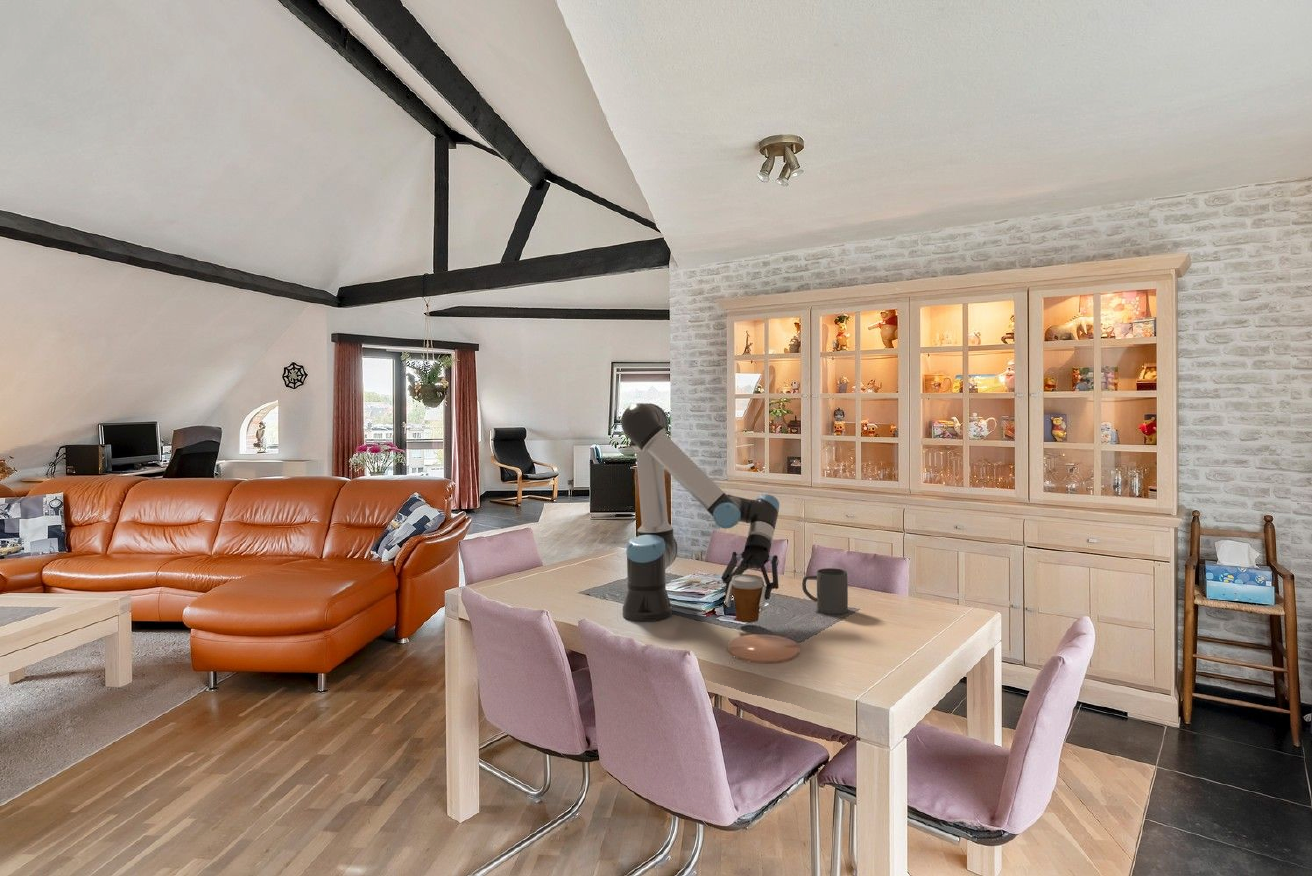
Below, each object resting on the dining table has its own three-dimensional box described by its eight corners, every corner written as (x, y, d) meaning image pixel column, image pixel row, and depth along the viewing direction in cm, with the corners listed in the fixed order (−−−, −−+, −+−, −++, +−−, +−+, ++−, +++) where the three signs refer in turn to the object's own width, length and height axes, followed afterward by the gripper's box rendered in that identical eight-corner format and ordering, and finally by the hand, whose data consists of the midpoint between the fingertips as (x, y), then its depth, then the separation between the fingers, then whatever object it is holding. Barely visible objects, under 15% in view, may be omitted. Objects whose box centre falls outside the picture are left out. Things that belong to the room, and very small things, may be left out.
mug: (849, 607, 211) (848, 569, 210) (846, 616, 202) (845, 576, 202) (804, 604, 216) (804, 566, 215) (800, 612, 207) (799, 573, 207)
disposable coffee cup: (763, 625, 189) (763, 583, 188) (729, 623, 191) (729, 581, 190) (764, 615, 198) (764, 574, 198) (732, 613, 200) (732, 573, 199)
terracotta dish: (713, 650, 175) (713, 645, 175) (759, 634, 187) (759, 629, 187) (768, 669, 162) (768, 664, 162) (813, 650, 174) (813, 645, 174)
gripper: (797, 550, 203) (784, 617, 189) (727, 544, 212) (710, 608, 198) (793, 535, 198) (780, 603, 184) (722, 530, 207) (704, 595, 193)
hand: (744, 606), depth 191 cm, fingers closed on disposable coffee cup, 9 cm apart
